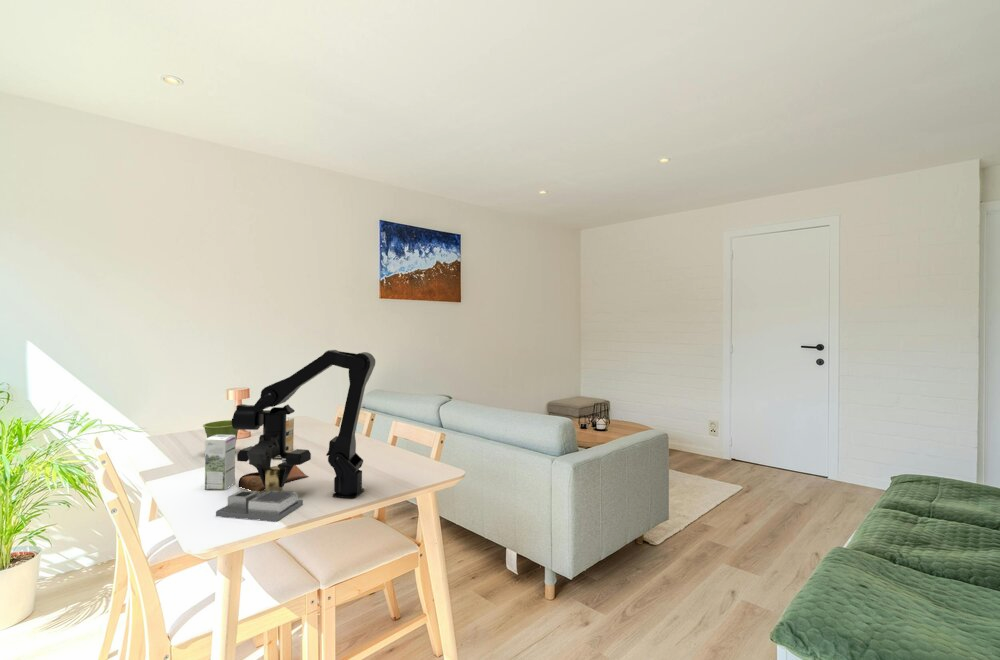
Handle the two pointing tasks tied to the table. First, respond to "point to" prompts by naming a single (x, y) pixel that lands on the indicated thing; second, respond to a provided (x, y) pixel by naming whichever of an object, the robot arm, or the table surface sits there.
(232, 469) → the syrup box
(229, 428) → the plant pot
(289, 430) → the supplement box
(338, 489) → the robot arm
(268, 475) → the brass fitting
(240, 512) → the grey fixture block
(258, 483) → the sunglasses case
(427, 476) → the table surface
